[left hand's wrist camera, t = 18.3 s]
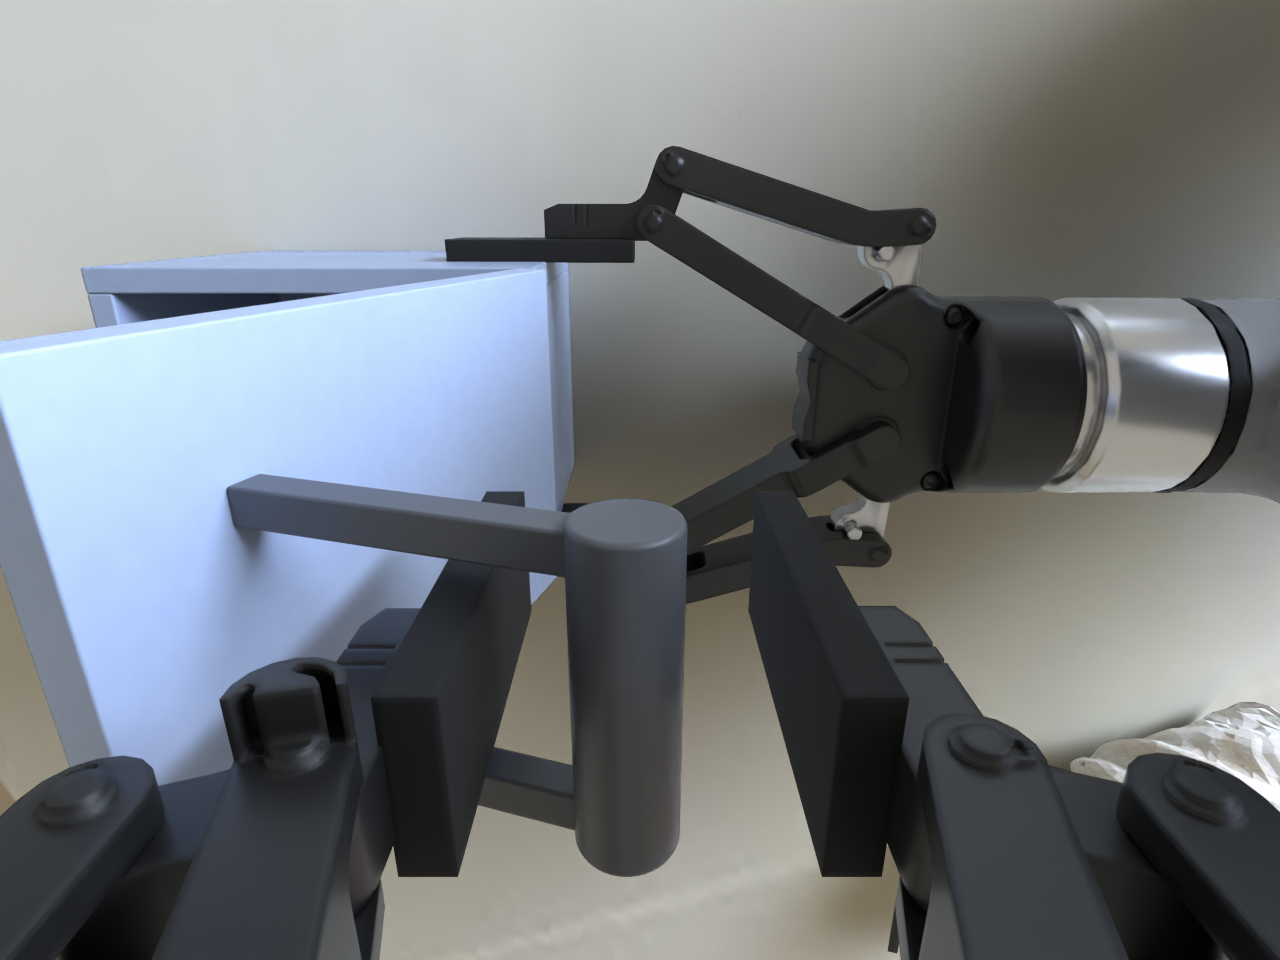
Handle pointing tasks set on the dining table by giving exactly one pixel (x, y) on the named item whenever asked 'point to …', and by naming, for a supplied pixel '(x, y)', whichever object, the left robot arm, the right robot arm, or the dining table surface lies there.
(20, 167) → the dining table surface
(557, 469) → the chest
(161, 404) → the lid
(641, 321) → the dining table surface
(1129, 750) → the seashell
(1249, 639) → the dining table surface
